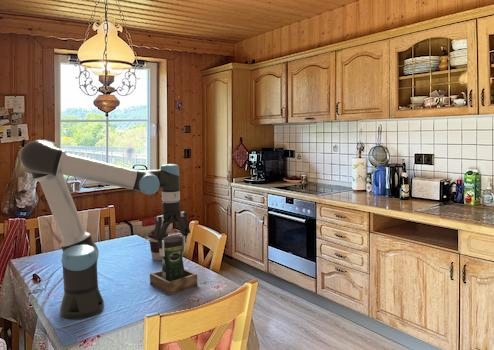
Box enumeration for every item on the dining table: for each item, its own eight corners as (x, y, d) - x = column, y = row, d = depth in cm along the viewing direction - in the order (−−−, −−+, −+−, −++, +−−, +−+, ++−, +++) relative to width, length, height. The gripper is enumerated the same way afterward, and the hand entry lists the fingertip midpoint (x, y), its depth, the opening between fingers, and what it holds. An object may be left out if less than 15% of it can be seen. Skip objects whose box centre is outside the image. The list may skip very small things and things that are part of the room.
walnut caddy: (169, 294, 167) (169, 282, 166) (150, 284, 178) (149, 273, 177) (197, 285, 177) (197, 274, 176) (177, 276, 187) (177, 265, 187)
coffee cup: (146, 257, 215) (145, 229, 213) (164, 254, 220) (163, 226, 218) (153, 262, 207) (152, 233, 205) (172, 259, 212) (171, 230, 210)
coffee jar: (180, 273, 183) (179, 232, 181) (187, 279, 176) (185, 237, 174) (159, 278, 179) (157, 236, 176) (165, 284, 172) (162, 240, 169)
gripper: (152, 206, 163) (154, 261, 165) (198, 198, 178) (199, 249, 180) (142, 203, 168) (144, 256, 171) (187, 196, 183) (189, 245, 186)
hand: (172, 252), depth 175 cm, fingers closed on coffee jar, 10 cm apart
